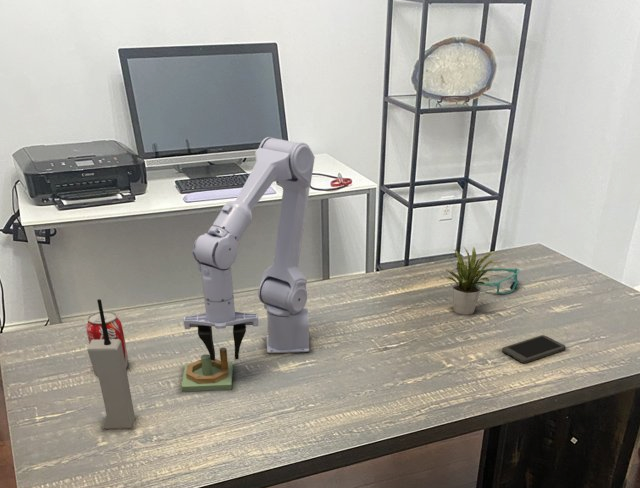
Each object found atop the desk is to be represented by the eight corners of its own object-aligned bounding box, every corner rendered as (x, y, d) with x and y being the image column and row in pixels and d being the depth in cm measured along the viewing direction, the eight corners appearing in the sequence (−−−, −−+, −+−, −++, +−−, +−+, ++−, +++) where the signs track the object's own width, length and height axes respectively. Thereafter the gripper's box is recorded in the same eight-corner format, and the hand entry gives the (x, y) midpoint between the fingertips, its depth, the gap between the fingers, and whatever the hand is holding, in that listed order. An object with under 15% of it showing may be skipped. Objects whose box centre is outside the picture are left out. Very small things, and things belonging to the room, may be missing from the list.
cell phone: (500, 350, 156) (500, 347, 155) (543, 337, 162) (543, 334, 162) (523, 363, 150) (524, 360, 150) (566, 349, 157) (567, 346, 156)
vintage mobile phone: (108, 418, 129) (82, 295, 115) (135, 418, 129) (113, 294, 115) (104, 429, 126) (77, 303, 112) (131, 429, 126) (108, 303, 112)
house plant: (505, 308, 176) (515, 247, 167) (484, 327, 166) (493, 262, 157) (455, 296, 182) (462, 236, 173) (432, 313, 173) (438, 250, 164)
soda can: (136, 364, 147) (127, 312, 140) (116, 379, 141) (106, 326, 135) (108, 358, 149) (98, 307, 142) (88, 373, 143) (76, 321, 137)
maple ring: (229, 363, 146) (227, 339, 143) (228, 382, 139) (225, 358, 136) (188, 364, 145) (185, 341, 142) (185, 384, 138) (182, 360, 135)
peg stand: (232, 366, 147) (231, 344, 144) (231, 389, 139) (229, 367, 136) (185, 368, 146) (183, 346, 143) (181, 391, 138) (178, 369, 135)
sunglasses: (507, 298, 181) (508, 280, 179) (456, 291, 189) (456, 274, 186) (526, 282, 191) (527, 265, 189) (477, 276, 199) (477, 259, 196)
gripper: (179, 306, 129) (187, 368, 136) (256, 303, 130) (260, 365, 138) (182, 291, 134) (190, 352, 142) (256, 288, 136) (260, 349, 144)
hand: (225, 357), depth 140 cm, fingers open, 4 cm apart
